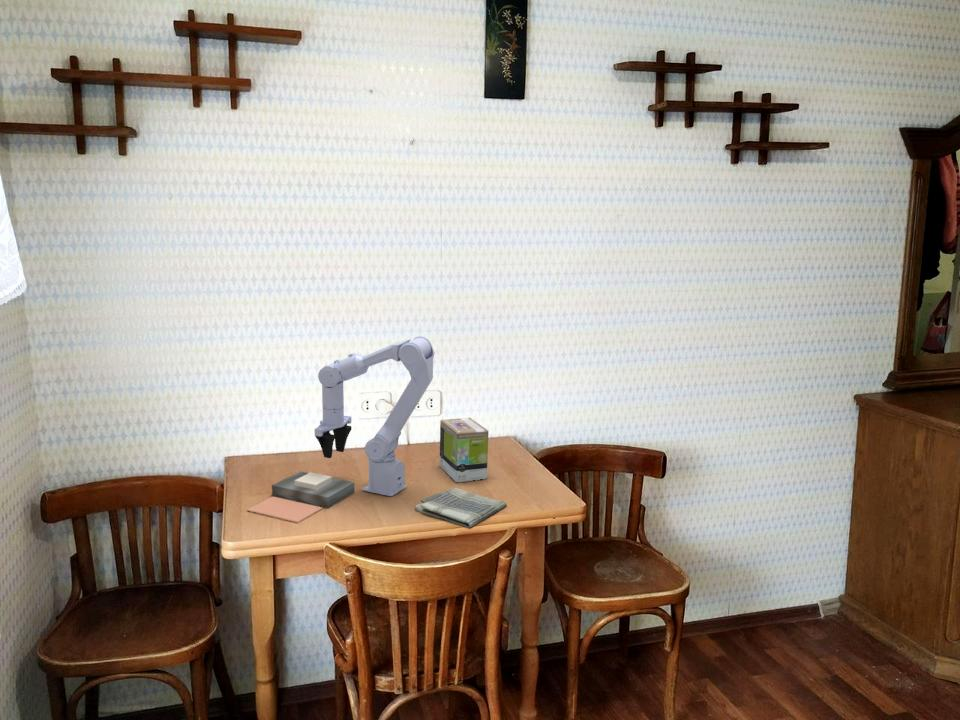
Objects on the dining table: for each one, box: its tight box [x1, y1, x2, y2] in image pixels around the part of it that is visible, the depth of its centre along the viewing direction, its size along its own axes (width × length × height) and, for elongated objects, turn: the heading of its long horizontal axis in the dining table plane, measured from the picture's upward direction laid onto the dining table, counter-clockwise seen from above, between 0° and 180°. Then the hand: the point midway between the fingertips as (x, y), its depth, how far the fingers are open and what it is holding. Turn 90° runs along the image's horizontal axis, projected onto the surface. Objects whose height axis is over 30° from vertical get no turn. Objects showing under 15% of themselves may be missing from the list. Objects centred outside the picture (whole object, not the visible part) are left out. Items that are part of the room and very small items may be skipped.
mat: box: [246, 496, 324, 524], centre depth 196 cm, size 16×10×1 cm, turn 65°
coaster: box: [294, 471, 333, 490], centre depth 206 cm, size 7×7×2 cm
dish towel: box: [414, 487, 507, 529], centre depth 200 cm, size 19×18×3 cm
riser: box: [271, 471, 356, 509], centre depth 206 cm, size 18×12×3 cm, turn 65°
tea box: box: [439, 417, 490, 483], centre depth 224 cm, size 15×10×15 cm, turn 22°
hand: (333, 454), depth 213 cm, fingers open, 5 cm apart
